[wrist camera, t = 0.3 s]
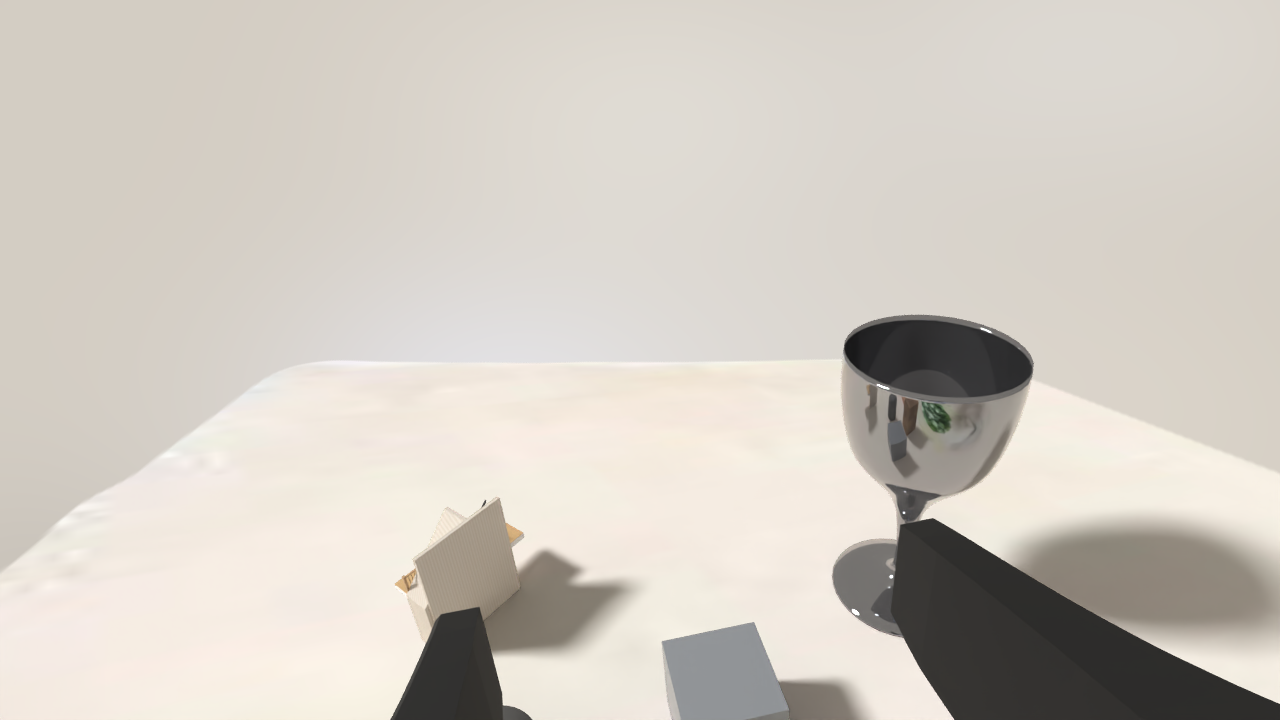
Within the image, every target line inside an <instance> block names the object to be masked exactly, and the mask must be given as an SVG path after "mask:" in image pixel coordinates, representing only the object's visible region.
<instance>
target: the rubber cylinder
mask: <svg viewBox="0 0 1280 720" xmlns="http://www.w3.org/2000/svg"><path fill="white" fill-rule="evenodd" d="M503 720H532V719H531V718H530V717H529V716H528V715H527V714H526V713H525V712H523V711H521V710H520V709H517V708H515V707H511V706H503Z"/></svg>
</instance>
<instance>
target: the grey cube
mask: <svg viewBox="0 0 1280 720" xmlns="http://www.w3.org/2000/svg"><path fill="white" fill-rule="evenodd" d="M662 649H663V659H664V670H665V680H666V691H667V701H668V705H669V709H670V713H671V718H672V720H789V707H788V705H787V702H786V700H785V697H784V695H783V693H782V690H781V688H780V685H779V683H778V680H777V678H776V675H775V673H774V670H773V668H772V665H771V663H770V660H769V658H768V656H767V653H766V651H765V648H764V646H763V643H762V641H761V638H760V636H759V633H758V631H757V628H756V626H755V623H754V622H752V623H747V624H743V625H738V626H733V627H728V628H724V629H719V630H714V631H709V632H704V633H700V634H695V635H690V636H685V637H680V638H676V639H671V640H666V641H662Z"/></svg>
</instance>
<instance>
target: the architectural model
mask: <svg viewBox="0 0 1280 720" xmlns="http://www.w3.org/2000/svg"><path fill="white" fill-rule="evenodd" d="M485 503H486V500H485V501H484V503H483V505H482V507H481V509H479V510H478V511H476V512H475V513H474V514H472V515H471V516H470V517H468V518H465V517H464V516H462V515H460V514H459V513H457V512H455V511H454V510H452V509H450V508H449V507H447V508H445V509H444V511H443V513H442V516H441V518H440V520H439V522H438V525H437V527H436V529H435V531H434V534H433V536H432V538H431V540H430V543H429V545H428V547H427V548H426V549H425V550H424V551H422V552H421V553H420V554H418V555H417V556H416V557H414V558H413V559H412V560H413V563H414V566H415V569H414V570H413V571H411V572H410V573H409V574H407V575H406V576H402V579H401V580H399V581H398V582H397V583H395V586H396V589H397V590H398V591H400V592H401V593H402V594H404V595H405V596H406V597H407V599H408V602H409V604H410V607H411V610H412V613H413V615H414V618H415V621H416V624H417V627H418V629H419V632H420V635H421V638H422V640H423V641H424V642H425V643H426V642H427V640H428V638H429V635H430V633H431V630H432V628H433V625H434V622H435V621H436V619H437V618H438V617H439V616H440V615H441V614H444V613H450V612H455V611H460V610H465V609H470V608H475V607H480V610H481V614H482V618H483V621H484V620H485V619H486V618H488V617H489V616H490V615H491V614H492V613H493V612H494V611H495V610H496V609H498V608H499V607H500V606H501V605H502V604H503V603H504V602H505V601H507V600H508V599H509V598H510V597H511V596H512V595H513V594H514V593H516V592H517V591H518V590H519V589H520V588H521V586H520V582H519V578H518V574H517V570H516V565H515V561H514V557H513V553H512V547H513V546H514V545H516V544H517V543H518V542H519V541H520V540H522V539H523V538H524V534H523V532H521V531H519V530H517V529H516V528H514V527H512V526H510V525H509V524H507V523H505V519H504V515H503V511H502V506H501V502H500V498H499V497H495V498H494V499H493V500H491V501H490V502H489V503H487V504H486V505H485ZM484 505H485V506H484Z"/></svg>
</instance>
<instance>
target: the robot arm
mask: <svg viewBox="0 0 1280 720" xmlns="http://www.w3.org/2000/svg"><path fill="white" fill-rule="evenodd" d="M891 614H892V616H893V617H894V619H895V621H896V623H897V625H898V627H899V629H900V631H901V633H902V635H903V637H904V639H905V641H906V643H907V645H908V647H909V649H910V651H911V653H912V654H913V656H914V658H915V660H916V662H917V664H918V665H919V667H920V669H921V671H922V672H923V674H924V675H925V677H926V678H927V680H928V681H929V683H930V684H931V686H932V687H933V689H934V690H935V692H936V693H937V695H938V696H939V698H940V699H941V701H942V702H943V703H944V705H945V706H946V708H947V709H948V711H949V712H950V714H951V715H952V717H953V718H954V720H1280V704H1279V703H1276V702H1274V701H1271V700H1269V699H1267V698H1264V697H1262V696H1260V695H1258V694H1255V693H1253V692H1251V691H1248V690H1246V689H1244V688H1242V687H1239V686H1237V685H1235V684H1233V683H1230V682H1228V681H1226V680H1224V679H1222V678H1220V677H1218V676H1216V675H1214V674H1211V673H1209V672H1207V671H1205V670H1203V669H1201V668H1199V667H1197V666H1194V665H1192V664H1190V663H1188V662H1186V661H1184V660H1182V659H1180V658H1178V657H1175V656H1173V655H1171V654H1169V653H1167V652H1165V651H1163V650H1161V649H1159V648H1157V647H1155V646H1153V645H1152V644H1150V643H1148V642H1146V641H1144V640H1142V639H1140V638H1138V637H1136V636H1134V635H1133V634H1131V633H1129V632H1127V631H1125V630H1123V629H1121V628H1119V627H1118V626H1116V625H1114V624H1112V623H1110V622H1108V621H1106V620H1105V619H1103V618H1101V617H1099V616H1097V615H1095V614H1094V613H1092V612H1090V611H1088V610H1087V609H1085V608H1083V607H1081V606H1079V605H1078V604H1076V603H1074V602H1072V601H1071V600H1069V599H1067V598H1065V597H1064V596H1062V595H1060V594H1059V593H1057V592H1055V591H1053V590H1052V589H1050V588H1048V587H1047V586H1045V585H1043V584H1042V583H1040V582H1038V581H1036V580H1035V579H1033V578H1031V577H1030V576H1028V575H1027V574H1025V573H1023V572H1022V571H1020V570H1018V569H1017V568H1015V567H1013V566H1012V565H1010V564H1008V563H1007V562H1005V561H1003V560H1002V559H1000V558H999V557H997V556H995V555H994V554H992V553H990V552H989V551H987V550H985V549H984V548H982V547H981V546H979V545H977V544H976V543H974V542H972V541H971V540H969V539H967V538H966V537H964V536H963V535H961V534H959V533H958V532H956V531H954V530H953V529H951V528H949V527H947V526H946V525H944V524H942V523H941V522H939V521H937V520H935V519H933V518H932V519H926V520H921V521H916V522H911V523H906V524H901V525H900V531H899V540H898V549H897V558H896V567H895V576H894V585H893V594H892V603H891ZM391 720H503V703H502V691H501V688H500V684H499V680H498V676H497V672H496V668H495V664H494V661H493V657H492V653H491V649H490V645H489V641H488V637H487V634H486V630H485V626H484V622H483V618H482V614H481V610H480V607H475V608H470V609H465V610H460V611H455V612H450V613H444V614H441V615H440V616H439V617H438V618H437V619H436V621H435V622H434V625H433V628H432V630H431V633H430V635H429V638H428V640H427V642H426V645H425V647H424V649H423V652H422V654H421V656H420V659H419V661H418V663H417V665H416V668H415V670H414V672H413V674H412V676H411V679H410V681H409V683H408V685H407V687H406V689H405V692H404V694H403V696H402V698H401V700H400V702H399V704H398V706H397V708H396V710H395V712H394V714H393V716H392V718H391Z"/></svg>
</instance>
